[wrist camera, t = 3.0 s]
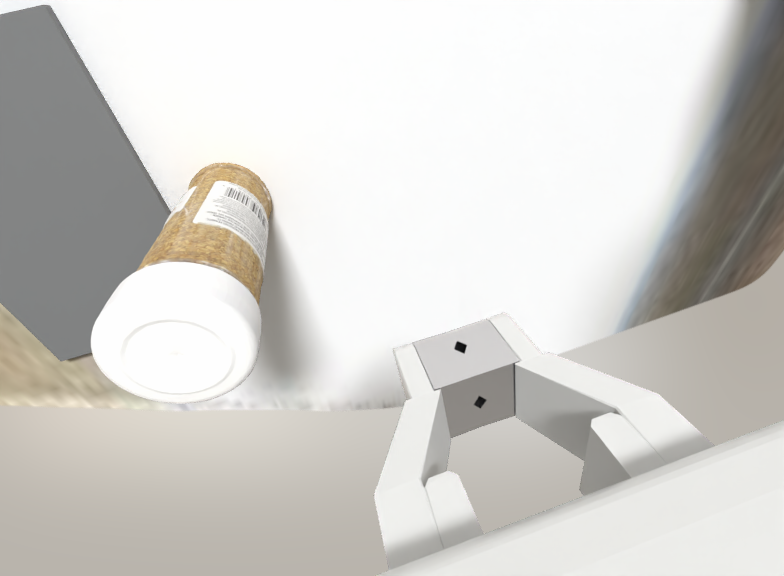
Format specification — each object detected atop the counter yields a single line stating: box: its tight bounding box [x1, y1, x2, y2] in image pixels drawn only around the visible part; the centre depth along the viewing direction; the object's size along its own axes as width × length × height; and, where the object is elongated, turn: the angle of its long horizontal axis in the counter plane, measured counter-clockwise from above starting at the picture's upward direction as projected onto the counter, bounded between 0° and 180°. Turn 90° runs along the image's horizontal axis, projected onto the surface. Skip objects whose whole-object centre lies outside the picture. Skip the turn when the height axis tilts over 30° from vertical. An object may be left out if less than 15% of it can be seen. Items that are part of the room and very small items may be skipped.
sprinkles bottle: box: [91, 163, 272, 404], centre depth 17 cm, size 5×5×13 cm
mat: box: [0, 5, 171, 361], centre depth 20 cm, size 11×17×1 cm, turn 12°
